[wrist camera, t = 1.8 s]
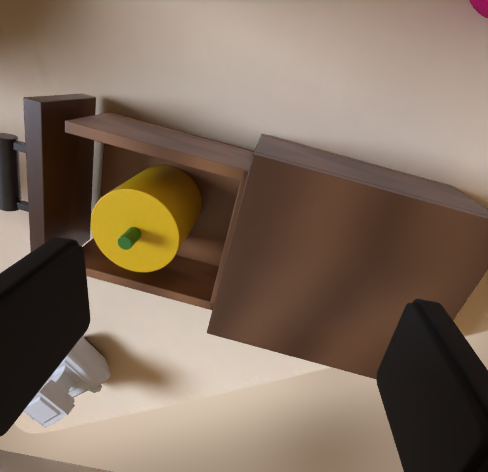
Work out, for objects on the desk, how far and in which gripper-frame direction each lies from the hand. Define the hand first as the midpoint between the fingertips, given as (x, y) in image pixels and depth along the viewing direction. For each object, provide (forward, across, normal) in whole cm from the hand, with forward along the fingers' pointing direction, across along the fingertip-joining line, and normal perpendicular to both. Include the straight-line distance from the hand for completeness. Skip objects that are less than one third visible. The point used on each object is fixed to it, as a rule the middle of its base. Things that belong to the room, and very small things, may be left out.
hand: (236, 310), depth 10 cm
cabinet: (+21, -7, +6) cm, 23 cm away
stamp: (+22, +19, +28) cm, 40 cm away
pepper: (+19, +8, +5) cm, 21 cm away
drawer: (+20, +11, +4) cm, 24 cm away
